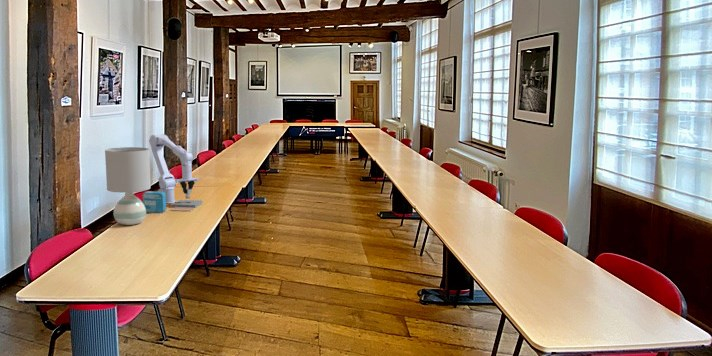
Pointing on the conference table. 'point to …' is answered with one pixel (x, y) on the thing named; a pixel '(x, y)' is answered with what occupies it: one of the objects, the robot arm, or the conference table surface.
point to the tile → (182, 209)
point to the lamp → (128, 181)
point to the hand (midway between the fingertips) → (187, 193)
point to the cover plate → (187, 203)
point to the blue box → (154, 202)
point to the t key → (188, 192)
